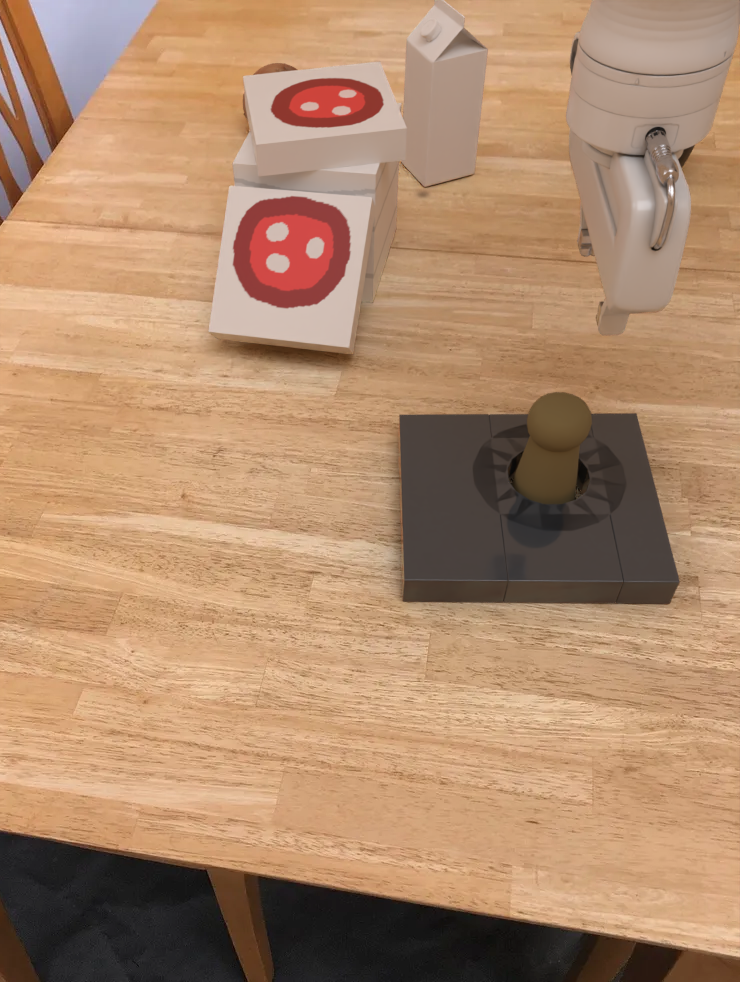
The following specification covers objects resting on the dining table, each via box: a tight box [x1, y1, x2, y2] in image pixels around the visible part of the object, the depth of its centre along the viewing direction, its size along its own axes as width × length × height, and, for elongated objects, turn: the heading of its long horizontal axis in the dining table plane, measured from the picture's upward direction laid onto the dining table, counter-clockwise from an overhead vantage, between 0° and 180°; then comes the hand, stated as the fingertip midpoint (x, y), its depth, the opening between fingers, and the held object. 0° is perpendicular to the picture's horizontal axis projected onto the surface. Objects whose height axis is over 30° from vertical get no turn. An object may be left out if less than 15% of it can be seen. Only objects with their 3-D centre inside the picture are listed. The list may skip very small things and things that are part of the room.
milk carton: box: [400, 0, 489, 188], centre depth 112 cm, size 7×7×19 cm
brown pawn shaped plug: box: [510, 391, 592, 504], centre depth 80 cm, size 6×6×11 cm
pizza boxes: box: [207, 60, 407, 355], centre depth 98 cm, size 19×30×18 cm, turn 166°
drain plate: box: [397, 412, 681, 605], centre depth 82 cm, size 22×20×3 cm
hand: (598, 288), depth 67 cm, fingers open, 8 cm apart
